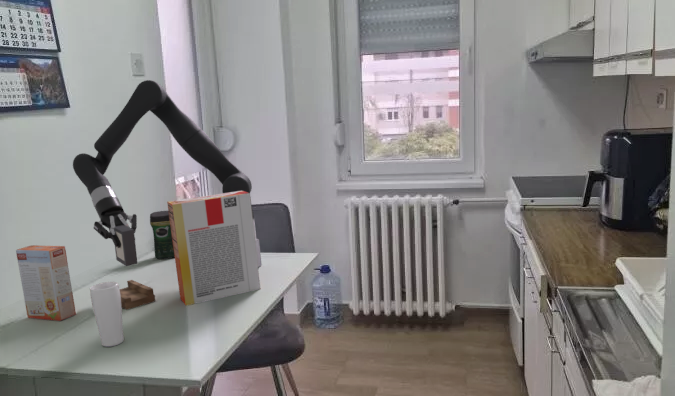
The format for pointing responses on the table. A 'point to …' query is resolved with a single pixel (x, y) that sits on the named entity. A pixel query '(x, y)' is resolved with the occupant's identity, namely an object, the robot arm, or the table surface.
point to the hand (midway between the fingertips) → (126, 244)
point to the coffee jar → (162, 234)
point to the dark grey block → (126, 245)
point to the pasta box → (214, 246)
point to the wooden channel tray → (136, 295)
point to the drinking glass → (108, 312)
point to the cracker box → (46, 282)
